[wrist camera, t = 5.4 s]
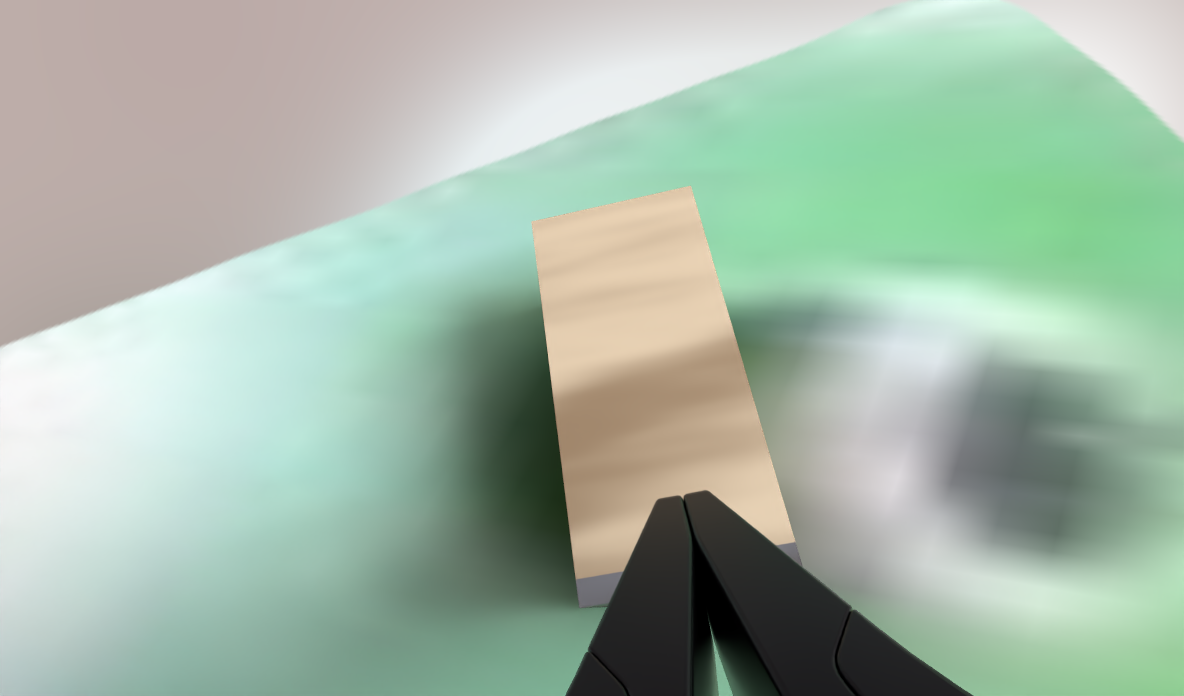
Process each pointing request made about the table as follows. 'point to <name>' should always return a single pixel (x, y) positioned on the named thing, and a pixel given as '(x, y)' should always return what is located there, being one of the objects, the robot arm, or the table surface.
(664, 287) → the tall block
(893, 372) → the table surface
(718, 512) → the robot arm
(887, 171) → the table surface
